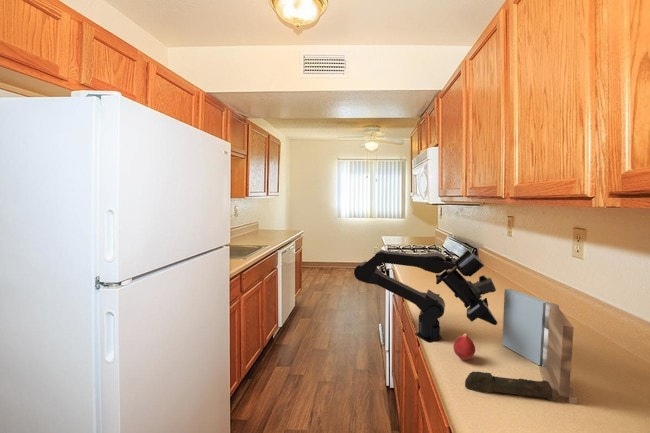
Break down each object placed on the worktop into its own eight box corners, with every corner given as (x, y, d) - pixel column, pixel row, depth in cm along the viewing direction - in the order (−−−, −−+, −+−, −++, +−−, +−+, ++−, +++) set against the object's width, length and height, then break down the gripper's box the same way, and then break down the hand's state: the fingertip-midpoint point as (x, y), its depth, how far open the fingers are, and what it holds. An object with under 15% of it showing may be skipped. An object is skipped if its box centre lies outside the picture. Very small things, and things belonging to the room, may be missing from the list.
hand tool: (546, 393, 81) (547, 375, 81) (553, 403, 78) (554, 384, 77) (463, 382, 86) (464, 365, 86) (466, 392, 82) (466, 374, 82)
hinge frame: (550, 399, 79) (555, 324, 77) (536, 365, 94) (540, 302, 92) (576, 404, 77) (581, 328, 75) (558, 368, 92) (561, 304, 90)
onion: (454, 364, 95) (455, 336, 94) (451, 354, 100) (452, 328, 99) (476, 366, 93) (477, 339, 92) (472, 356, 99) (473, 330, 98)
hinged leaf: (549, 372, 90) (553, 307, 88) (500, 344, 105) (503, 289, 103) (558, 370, 90) (561, 306, 89) (508, 343, 106) (510, 288, 104)
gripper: (480, 277, 95) (523, 320, 92) (478, 263, 112) (513, 299, 109) (450, 300, 99) (490, 342, 96) (452, 283, 116) (486, 318, 113)
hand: (496, 323), depth 103 cm, fingers closed
